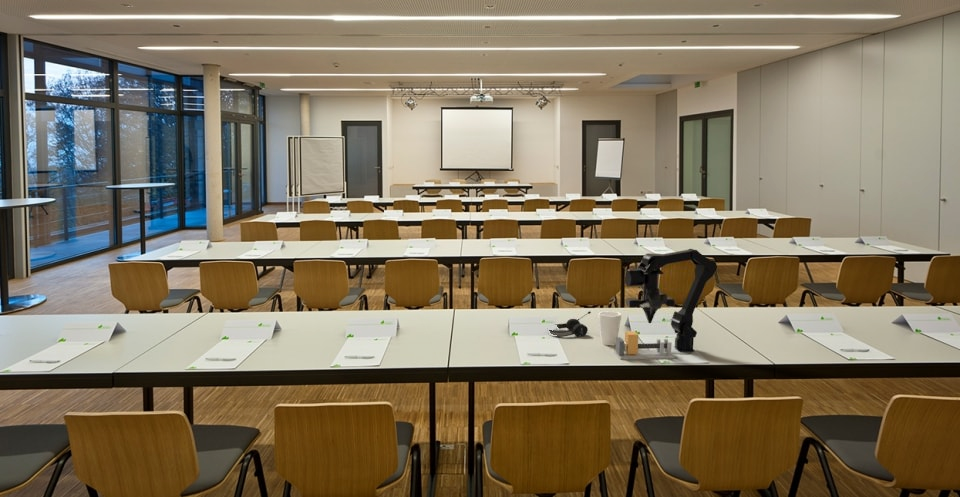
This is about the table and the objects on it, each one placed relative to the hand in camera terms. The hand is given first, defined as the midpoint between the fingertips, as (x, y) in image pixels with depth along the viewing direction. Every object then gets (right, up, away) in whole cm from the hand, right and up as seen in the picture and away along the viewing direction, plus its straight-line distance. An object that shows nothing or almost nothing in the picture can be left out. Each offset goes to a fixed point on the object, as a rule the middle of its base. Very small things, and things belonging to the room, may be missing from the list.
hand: (649, 322), depth 293 cm
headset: (-29, -8, +32) cm, 44 cm away
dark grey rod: (-3, -11, -3) cm, 11 cm away
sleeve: (-8, -12, -3) cm, 14 cm away
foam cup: (-14, -11, +15) cm, 23 cm away
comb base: (-3, -13, -2) cm, 13 cm away
